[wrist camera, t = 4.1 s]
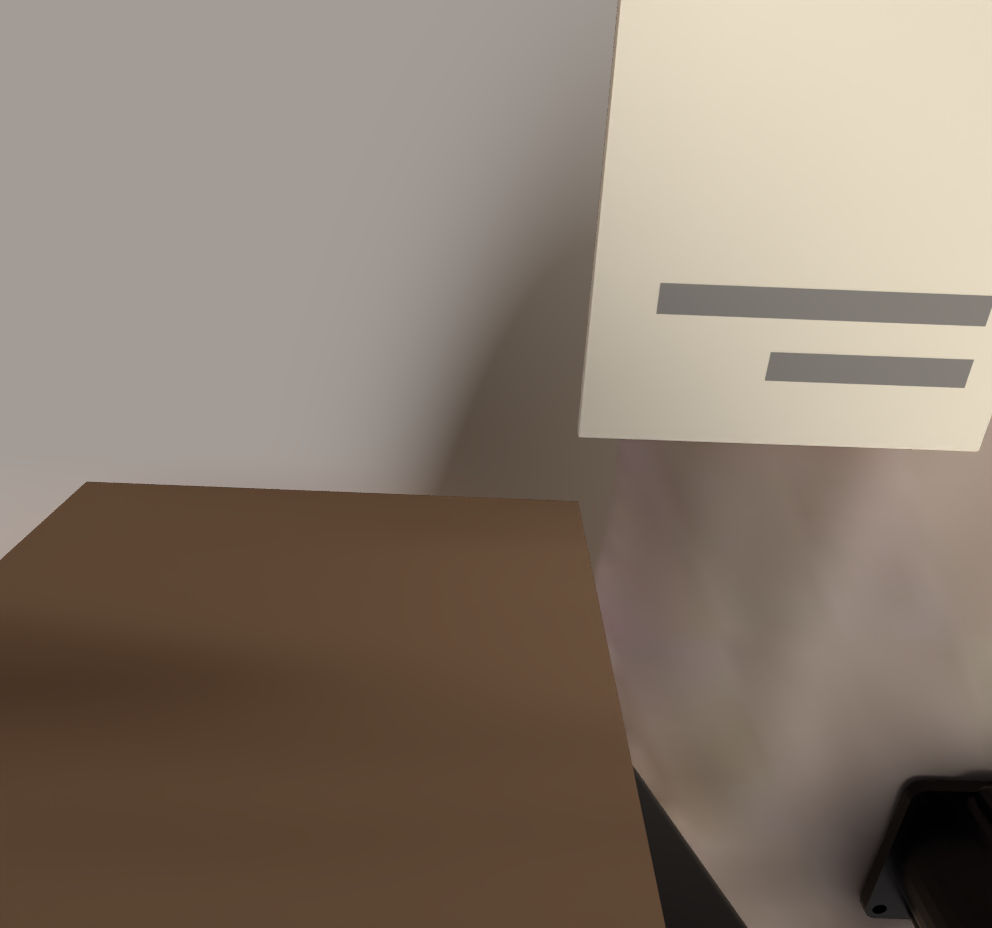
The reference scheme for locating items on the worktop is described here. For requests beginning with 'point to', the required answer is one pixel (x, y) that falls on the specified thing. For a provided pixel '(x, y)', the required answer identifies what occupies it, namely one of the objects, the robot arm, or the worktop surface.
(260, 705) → the walnut block
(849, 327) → the letter
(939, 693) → the worktop surface
